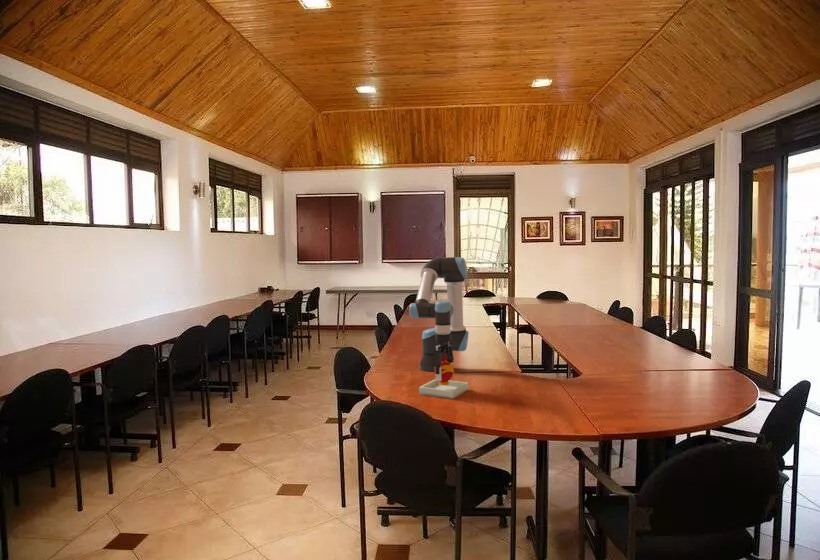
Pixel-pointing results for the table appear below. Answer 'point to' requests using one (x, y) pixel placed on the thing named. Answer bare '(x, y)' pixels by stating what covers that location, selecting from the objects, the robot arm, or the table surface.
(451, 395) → the bin
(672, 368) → the table surface
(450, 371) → the potion bottle
